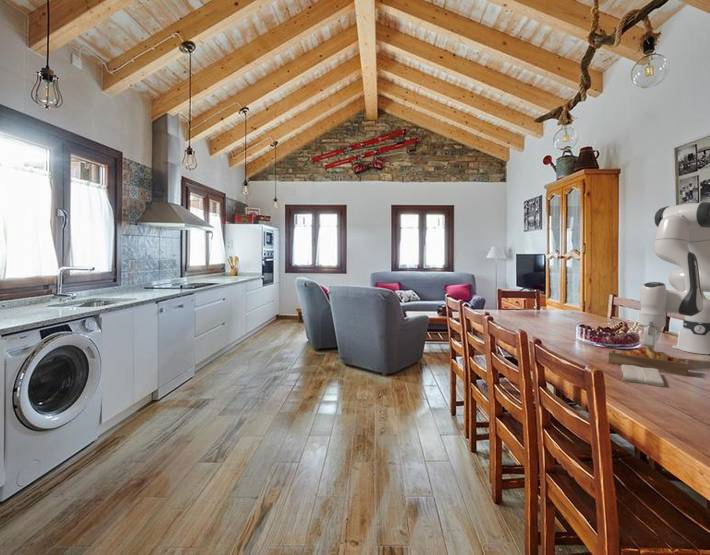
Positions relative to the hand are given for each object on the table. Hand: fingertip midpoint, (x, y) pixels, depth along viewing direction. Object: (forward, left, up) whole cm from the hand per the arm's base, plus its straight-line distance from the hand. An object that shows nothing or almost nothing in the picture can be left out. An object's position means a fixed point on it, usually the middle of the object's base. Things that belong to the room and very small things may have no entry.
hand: (650, 353), depth 161 cm
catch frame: (+13, 0, -3) cm, 13 cm away
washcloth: (+30, 0, -4) cm, 30 cm away
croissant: (+6, 0, -3) cm, 7 cm away
